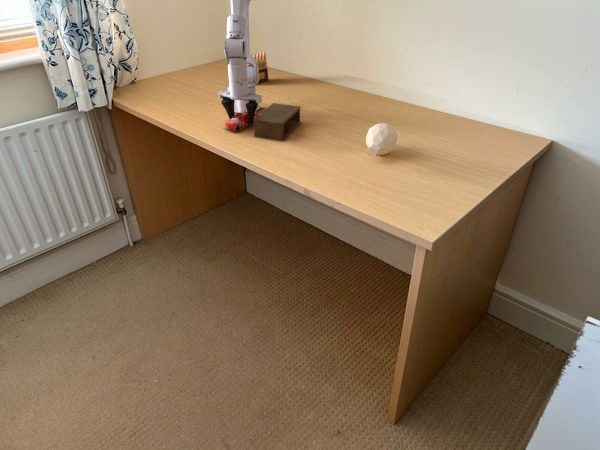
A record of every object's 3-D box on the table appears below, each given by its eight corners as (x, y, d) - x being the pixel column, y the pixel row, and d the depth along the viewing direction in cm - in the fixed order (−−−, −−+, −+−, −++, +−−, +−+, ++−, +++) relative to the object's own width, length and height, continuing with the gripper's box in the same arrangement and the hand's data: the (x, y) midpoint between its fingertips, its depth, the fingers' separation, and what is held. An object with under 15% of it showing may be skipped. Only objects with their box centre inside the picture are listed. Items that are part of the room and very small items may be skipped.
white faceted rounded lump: (367, 137, 131) (353, 157, 123) (378, 112, 124) (364, 131, 116) (393, 150, 129) (381, 171, 122) (406, 125, 123) (393, 146, 115)
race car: (232, 134, 137) (231, 122, 135) (221, 130, 140) (220, 118, 137) (262, 122, 145) (261, 110, 143) (250, 118, 148) (249, 106, 146)
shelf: (254, 136, 135) (253, 119, 132) (274, 119, 148) (273, 102, 145) (282, 140, 133) (282, 123, 130) (300, 122, 145) (300, 106, 142)
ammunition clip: (249, 85, 179) (247, 55, 172) (246, 84, 180) (244, 54, 173) (268, 80, 185) (267, 50, 178) (265, 79, 186) (264, 50, 179)
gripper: (211, 80, 133) (215, 123, 141) (254, 85, 129) (256, 129, 137) (222, 74, 138) (226, 115, 146) (263, 79, 134) (265, 121, 142)
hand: (241, 121), depth 142 cm, fingers closed on race car, 6 cm apart
